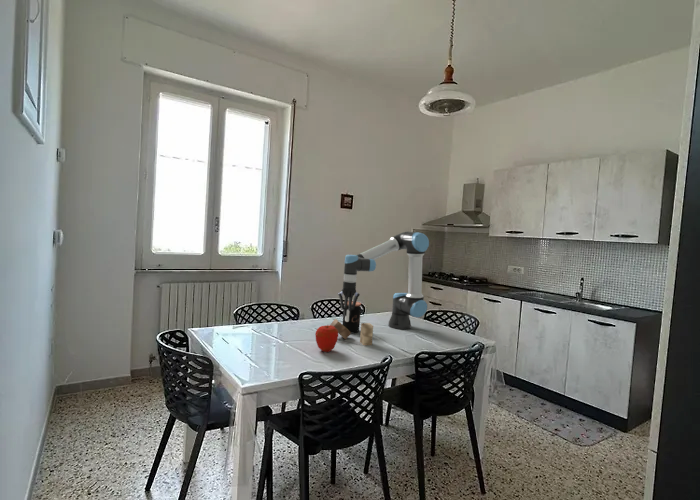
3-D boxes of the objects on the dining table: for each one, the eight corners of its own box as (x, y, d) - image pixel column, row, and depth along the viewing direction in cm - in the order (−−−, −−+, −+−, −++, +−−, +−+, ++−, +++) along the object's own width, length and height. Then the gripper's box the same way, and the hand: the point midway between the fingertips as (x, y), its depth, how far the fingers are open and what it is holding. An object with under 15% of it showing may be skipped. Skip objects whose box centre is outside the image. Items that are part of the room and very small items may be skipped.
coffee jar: (352, 334, 239) (354, 305, 238) (338, 330, 245) (340, 302, 244) (362, 331, 247) (364, 303, 246) (348, 327, 254) (350, 300, 253)
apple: (325, 345, 214) (327, 320, 213) (342, 351, 206) (344, 324, 206) (309, 350, 204) (311, 323, 204) (326, 356, 197) (328, 328, 196)
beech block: (368, 341, 227) (369, 323, 226) (372, 345, 221) (373, 325, 220) (359, 342, 225) (361, 323, 224) (363, 345, 219) (364, 325, 219)
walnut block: (348, 329, 234) (335, 318, 231) (351, 332, 228) (338, 321, 225) (342, 336, 233) (329, 325, 230) (345, 339, 228) (332, 327, 225)
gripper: (358, 280, 234) (355, 319, 236) (337, 280, 230) (334, 319, 232) (362, 282, 227) (359, 322, 229) (340, 282, 223) (337, 323, 224)
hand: (346, 321), depth 230 cm, fingers closed
